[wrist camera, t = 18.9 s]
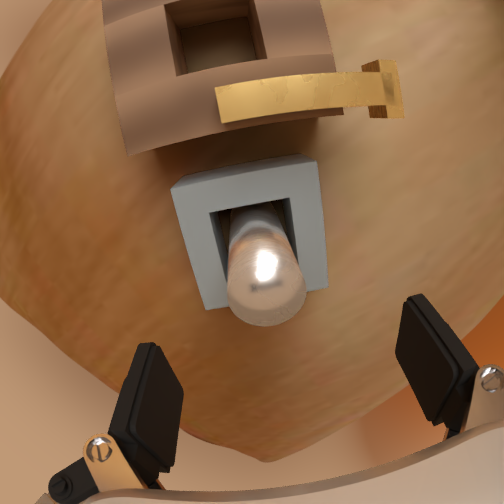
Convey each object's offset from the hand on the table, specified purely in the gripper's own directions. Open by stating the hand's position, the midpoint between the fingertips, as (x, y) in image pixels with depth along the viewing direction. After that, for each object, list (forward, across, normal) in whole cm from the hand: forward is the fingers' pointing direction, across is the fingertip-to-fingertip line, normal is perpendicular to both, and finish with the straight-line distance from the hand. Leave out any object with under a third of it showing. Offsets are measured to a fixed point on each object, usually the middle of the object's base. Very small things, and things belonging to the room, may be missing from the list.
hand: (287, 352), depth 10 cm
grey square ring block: (+16, +1, +1) cm, 17 cm away
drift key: (+11, -4, -9) cm, 14 cm away
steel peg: (+16, +1, +1) cm, 17 cm away
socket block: (+17, +1, -14) cm, 22 cm away
